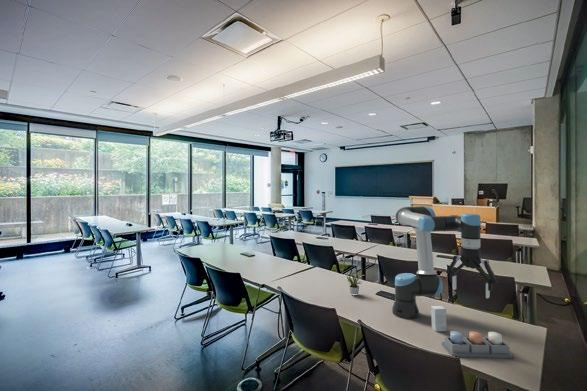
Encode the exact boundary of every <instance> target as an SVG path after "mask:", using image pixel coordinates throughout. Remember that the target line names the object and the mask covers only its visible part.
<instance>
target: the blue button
mask: <svg viewBox="0 0 587 391" xmlns="http://www.w3.org/2000/svg"><path fill="white" fill-rule="evenodd" d="M449 335H450V336H449V337H450V341H451V342H453V343H455V344H463V337H464V334H463V333H462V332H460V331H457V330H456V331H455V330H452V331H449Z"/></svg>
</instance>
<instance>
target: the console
mask: <svg viewBox="0 0 587 391" xmlns="http://www.w3.org/2000/svg"><path fill="white" fill-rule="evenodd" d="M441 346H442V347H443V348H444V349H445V350H446V351H447V352H448V354H449V355H450V356H451V355H452V356H458V358H459V357H462V358H492V359H493V358H496V359H497V358H499V359H501V358H502V359H505V358H506V359H513V358H514V355H513V354H512V353H511V352H510V346H509V345H508V344H507V343H506V342H504V340H502V345H495V344H492V343H490V342H489V341H488V336H486V337H485V336H484V337H483V344H481V345H477V344H473V343H471V342H470V341H469V336H463V344H455V343H453V342H451V341H450V336H444V341H441ZM452 356H451V357H452Z"/></svg>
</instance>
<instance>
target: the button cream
mask: <svg viewBox="0 0 587 391" xmlns="http://www.w3.org/2000/svg"><path fill="white" fill-rule="evenodd" d="M487 337H488V341H489V342H490V343H492V344H495V345H502V341H503V335H502V334H501V333H499V332H496V331H488V333H487Z"/></svg>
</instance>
